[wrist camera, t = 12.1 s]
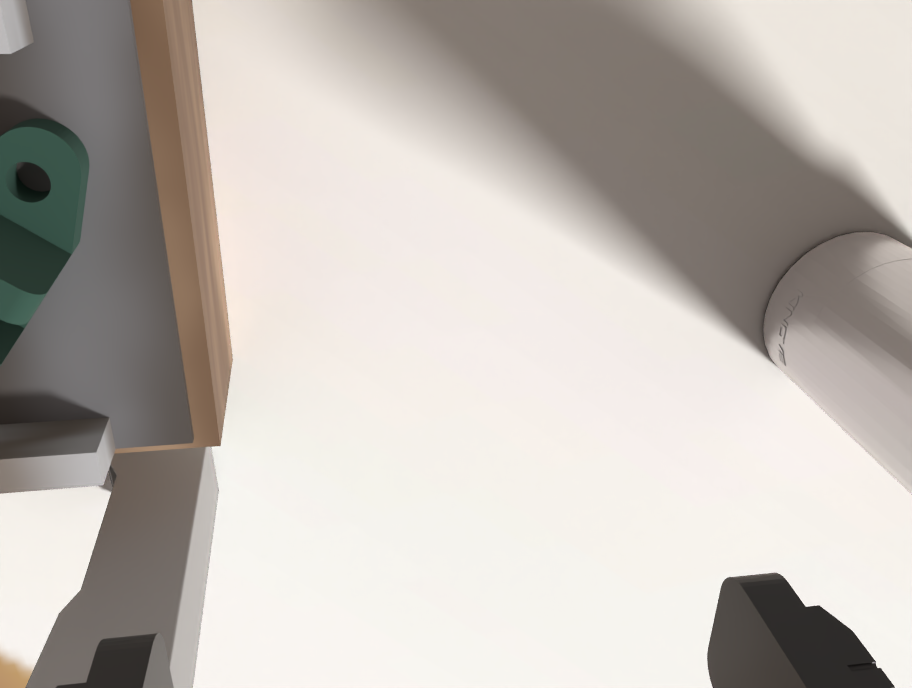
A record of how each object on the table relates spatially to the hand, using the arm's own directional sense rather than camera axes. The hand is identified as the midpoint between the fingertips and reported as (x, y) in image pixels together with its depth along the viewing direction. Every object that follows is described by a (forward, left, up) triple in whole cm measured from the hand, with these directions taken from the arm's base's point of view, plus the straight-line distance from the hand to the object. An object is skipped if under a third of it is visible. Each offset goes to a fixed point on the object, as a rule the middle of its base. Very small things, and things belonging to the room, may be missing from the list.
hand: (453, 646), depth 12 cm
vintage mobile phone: (+10, +17, -29) cm, 35 cm away
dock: (+13, +2, -29) cm, 32 cm away
